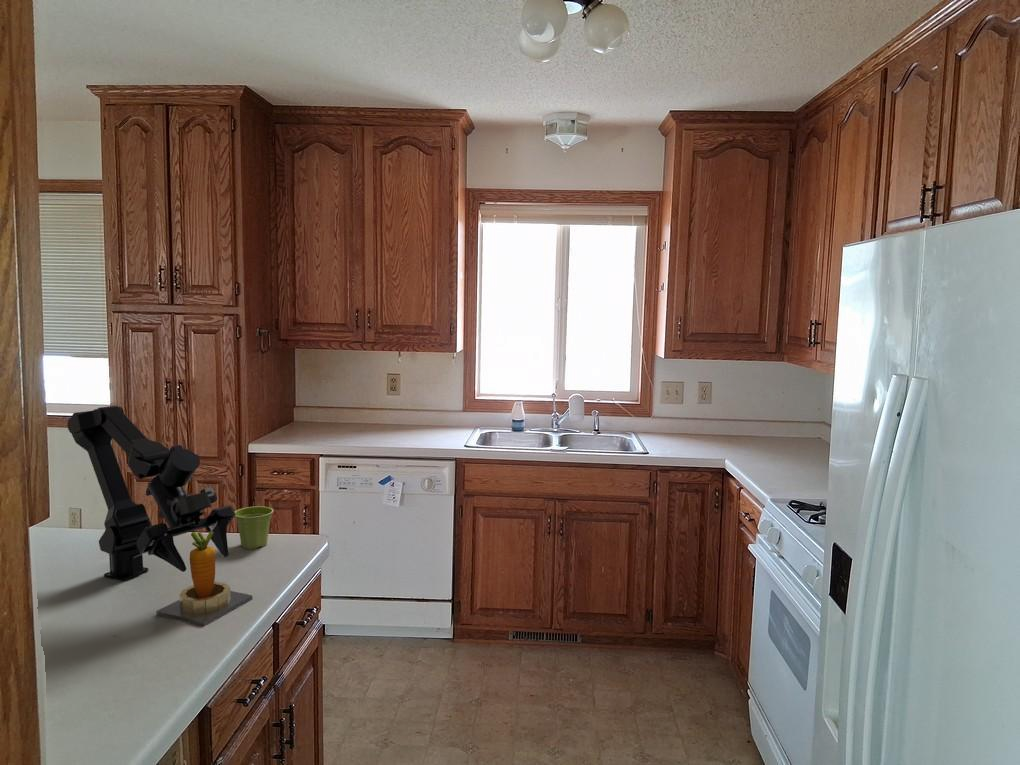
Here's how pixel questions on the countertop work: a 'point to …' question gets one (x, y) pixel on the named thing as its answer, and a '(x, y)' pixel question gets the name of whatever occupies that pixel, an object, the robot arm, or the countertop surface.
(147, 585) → the countertop surface
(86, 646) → the countertop surface
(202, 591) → the carrot
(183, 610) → the collar plate
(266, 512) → the plant pot
